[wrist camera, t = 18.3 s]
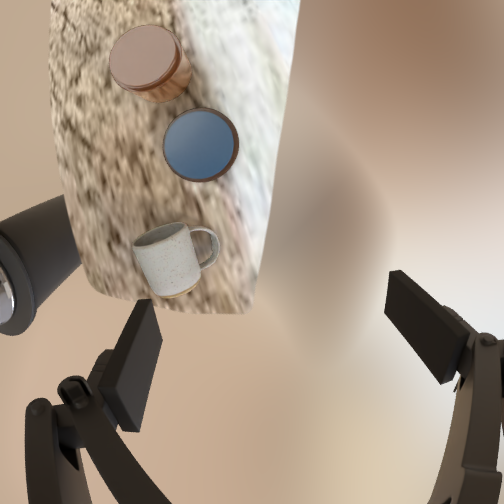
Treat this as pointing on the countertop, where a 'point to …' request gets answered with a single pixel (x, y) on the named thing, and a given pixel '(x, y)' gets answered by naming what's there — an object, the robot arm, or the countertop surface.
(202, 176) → the jar lid
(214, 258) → the ceramic mug
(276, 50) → the countertop surface
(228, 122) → the coaster
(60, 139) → the countertop surface
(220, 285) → the countertop surface
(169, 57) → the jam jar
